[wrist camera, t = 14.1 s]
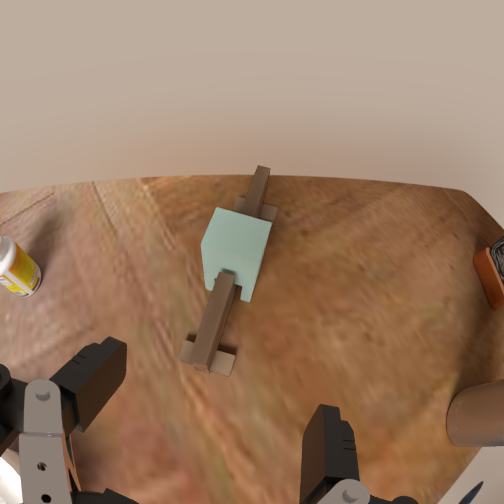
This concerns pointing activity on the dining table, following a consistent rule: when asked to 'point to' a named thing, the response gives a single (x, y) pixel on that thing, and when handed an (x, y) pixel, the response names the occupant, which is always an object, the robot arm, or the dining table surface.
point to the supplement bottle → (17, 269)
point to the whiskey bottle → (492, 272)
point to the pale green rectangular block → (234, 249)
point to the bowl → (10, 478)
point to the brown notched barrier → (226, 291)
